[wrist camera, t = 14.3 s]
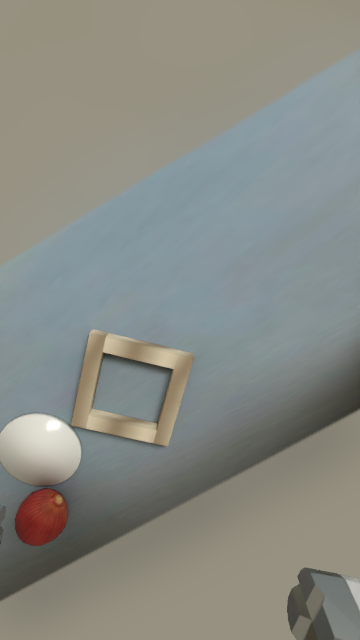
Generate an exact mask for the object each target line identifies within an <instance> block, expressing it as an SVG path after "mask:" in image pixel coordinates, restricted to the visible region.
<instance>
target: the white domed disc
mask: <svg viewBox="0 0 360 640" xmlns="http://www.w3.org/2000/svg"><path fill="white" fill-rule="evenodd" d="M81 457H82V446H81V442H80V439H79V437H78V435H77V433H76V432H75V431H74V429H73V428H72V427H71V426H70V425H69V424H67V423H66V422H65V421H63V420H62V419H60V418H58V417H55V416H53V415H49V414H45V413H29V414H24V415H21V416H19V417H17V418H15V419H13V420H12V421H11V422H10V423H8V425H7V426H6V427H5V428H4V429H3V430H2V432H1V434H0V461H1V463H2V465H3V466H4V468H5V469H6V470H7V471H8V472H9V473H10V474H11V475H12V476H13V477H15V478H16V479H18V480H20V481H22V482H24V483H27V484H30V485H35V486H51V485H56V484H59V483H61V482H63V481H65V480H67V479H68V478H69V477H71V476H72V475H73V474H74V472H75V471H76V469H77V468H78V466H79V463H80V460H81Z"/></svg>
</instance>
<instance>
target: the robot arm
mask: <svg viewBox="0 0 360 640" xmlns="http://www.w3.org/2000/svg"><path fill="white" fill-rule="evenodd" d="M5 512H6V507H4V506H1V505H0V525H1V523H2V521H3V520H4V518H5ZM2 536H3V529H2V527H1V526H0V544H1V540H2ZM298 580H299V583H300V584H299V585H297V586H295V587H294V588H292V590H291V592H290V595H289V597H288V606H287V612H288V621H289V625H290V629H291V632H292V633H293V635H294V636H295V638H296V639H297V640H360V580H359V579H358V578H354V577H349V576H344V575H338V574H336V573H331V572H326V571H320V570H315V569H310V568H303V569H302V570H301V571H300V573H299V575H298Z"/></svg>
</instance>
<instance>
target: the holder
mask: <svg viewBox="0 0 360 640" xmlns="http://www.w3.org/2000/svg"><path fill="white" fill-rule="evenodd" d="M104 353H108V354H112V355H117V356H121V357H125V358H129V359H133V360H137V361H142V362H146V363H150V364H154V365H158V366H163V367H167V368H171V369H173V370H172V373H171V377H170V381H169V384H168V388H167V391H166V395H165V398H164V402H163V406H162V409H161V413H160V416H159V420H158V423H154V422H149V421H145V420H140V419H136V418H131V417H127V416H122V415H118V414H113V413H109V412H104V411H100V410H95V409H92V406H93V402H94V397H95V393H96V388H97V383H98V379H99V374H100V370H101V365H102V360H103V356H104ZM193 359H194V357H193V353H188V352H184V351H180V350H176V349H172V348H168V347H164V346H160V345H156V344H152V343H147V342H143V341H139V340H135V339H131V338H127V337H123V336H119V335H115V334H111V333H106V332H102V331H98V330H94V329H93V330H92V331H91V332H90V333H89V338H88V343H87V348H86V353H85V358H84V363H83V368H82V373H81V378H80V383H79V388H78V393H77V398H76V403H75V408H74V413H73V418H72V423H71V425H72V426H76V427H81V428H85V429H90V430H95V431H99V432H104V433H108V434H113V435H117V436H122V437H127V438H131V439H136V440H140V441H145V442H149V443H154V444H159V445H163V446H168V444H169V440H170V437H171V434H172V430H173V427H174V423H175V420H176V417H177V413H178V410H179V407H180V403H181V400H182V396H183V393H184V390H185V386H186V383H187V380H188V376H189V373H190V369H191V366H192V363H193Z"/></svg>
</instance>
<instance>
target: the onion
mask: <svg viewBox="0 0 360 640" xmlns="http://www.w3.org/2000/svg"><path fill="white" fill-rule="evenodd" d="M67 518H68V505H67V503H66V501H65V498H64V497H63V496H62V495H61V494H60V493H59V492H57V491H56V490H54V489H48V488H44V489H41V490H38V491H35V492H33V493H31V494H30V495H29V496H28V497H27V498H26V499H25V500H24V501H23V502H22V504H21V505H20V507H19V509H18V512H17V515H16V518H15V530H16V532H17V535H18V537H19V538H20V539H21V540H22V541H23V543H26V544H29V545H36V546H41V545H44V544H46V543H48V542H50V541H52V540H54V539H55V538H56V537H57V536H58V535H59V534H60V533H61V532H62V530H63V529H64V527H65V525H66V522H67Z"/></svg>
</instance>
